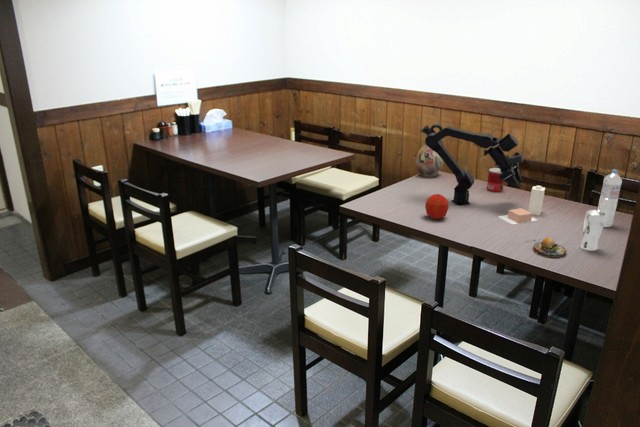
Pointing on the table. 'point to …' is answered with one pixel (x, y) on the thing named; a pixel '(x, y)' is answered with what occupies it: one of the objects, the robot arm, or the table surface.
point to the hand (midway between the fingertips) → (520, 184)
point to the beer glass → (592, 229)
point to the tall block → (536, 200)
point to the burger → (549, 249)
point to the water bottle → (610, 197)
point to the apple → (437, 206)
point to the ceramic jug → (428, 156)
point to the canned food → (494, 180)
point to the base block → (519, 215)
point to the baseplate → (513, 220)
